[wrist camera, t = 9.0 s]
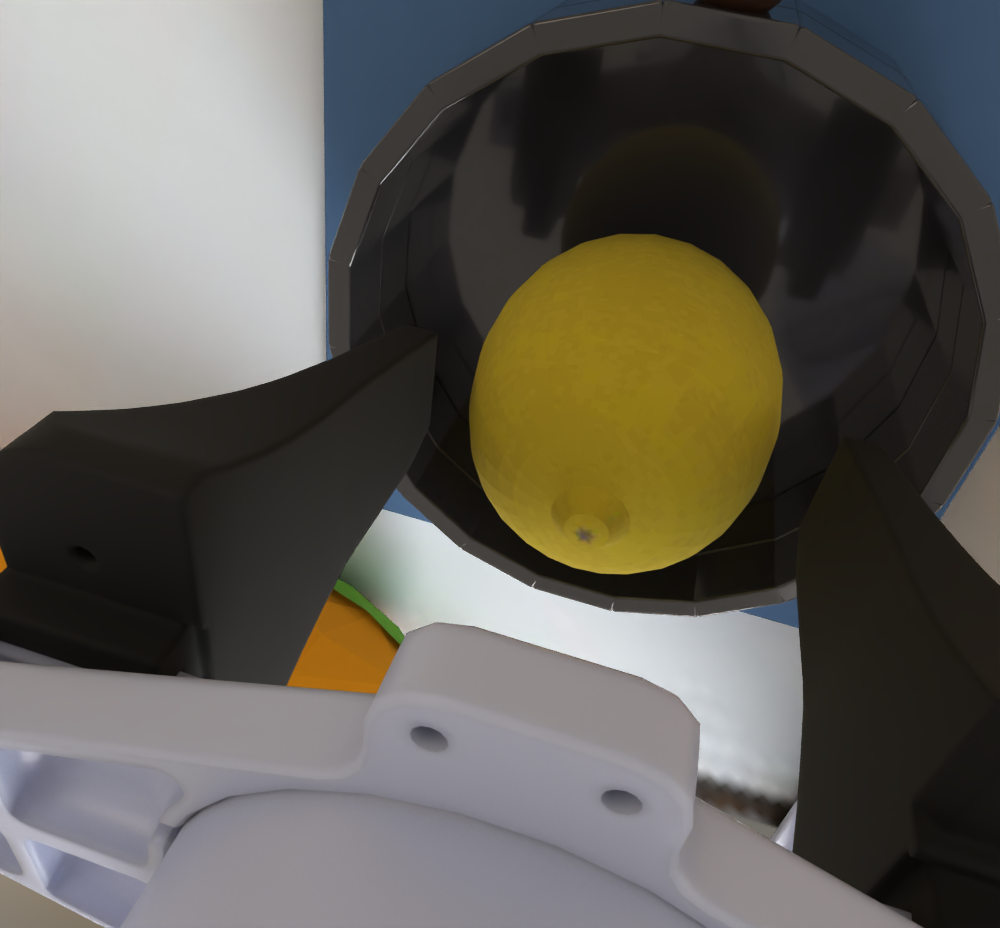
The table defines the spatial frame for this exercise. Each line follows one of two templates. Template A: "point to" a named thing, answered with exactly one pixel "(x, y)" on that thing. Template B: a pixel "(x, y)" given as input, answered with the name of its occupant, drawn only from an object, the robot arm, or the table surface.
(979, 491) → the table surface
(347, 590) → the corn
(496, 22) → the napkin
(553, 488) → the lemon
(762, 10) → the pan handle
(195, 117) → the table surface
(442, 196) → the pan
